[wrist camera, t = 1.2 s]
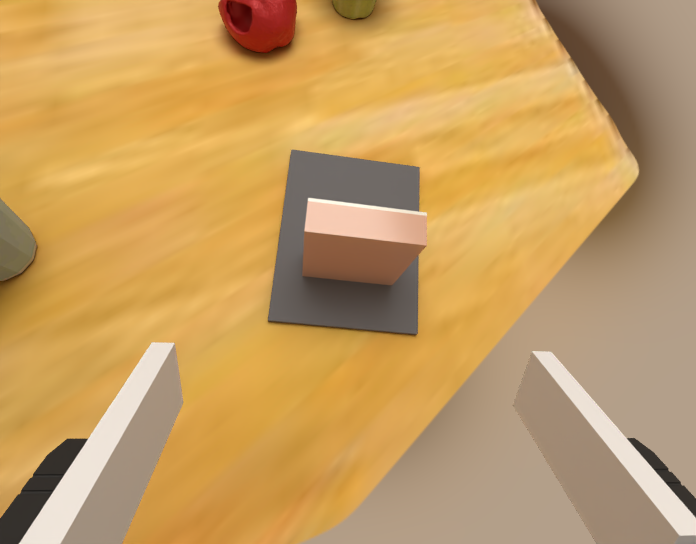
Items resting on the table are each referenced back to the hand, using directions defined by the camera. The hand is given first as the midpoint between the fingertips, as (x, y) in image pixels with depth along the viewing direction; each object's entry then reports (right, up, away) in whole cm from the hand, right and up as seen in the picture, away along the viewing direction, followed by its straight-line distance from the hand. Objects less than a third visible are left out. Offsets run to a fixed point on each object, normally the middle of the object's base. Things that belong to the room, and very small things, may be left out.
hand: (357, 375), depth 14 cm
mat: (0, +8, +30) cm, 31 cm away
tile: (0, +4, +28) cm, 28 cm away
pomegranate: (-12, +36, +38) cm, 54 cm away
